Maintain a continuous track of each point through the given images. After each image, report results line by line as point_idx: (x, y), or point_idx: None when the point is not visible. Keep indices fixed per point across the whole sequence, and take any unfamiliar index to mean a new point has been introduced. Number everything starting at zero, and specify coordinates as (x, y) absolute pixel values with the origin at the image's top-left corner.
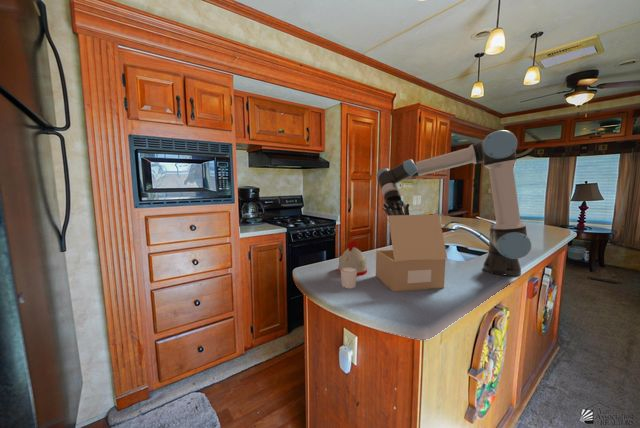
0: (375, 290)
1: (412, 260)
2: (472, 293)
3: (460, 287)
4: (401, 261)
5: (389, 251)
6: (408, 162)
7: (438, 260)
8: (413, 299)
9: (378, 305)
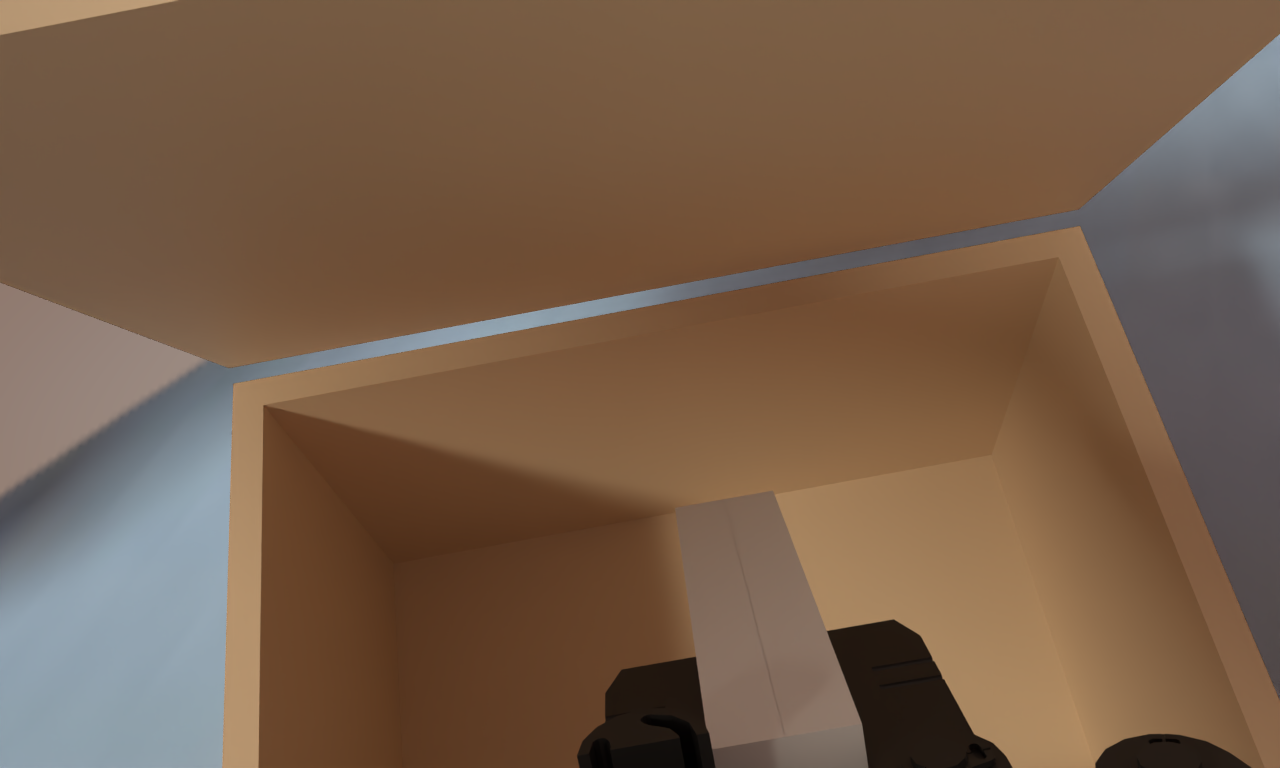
0: (1213, 462)
1: (775, 292)
2: (174, 423)
3: (176, 575)
4: (957, 249)
5: None
6: None
7: (355, 369)
8: (829, 272)
9: (1186, 150)
